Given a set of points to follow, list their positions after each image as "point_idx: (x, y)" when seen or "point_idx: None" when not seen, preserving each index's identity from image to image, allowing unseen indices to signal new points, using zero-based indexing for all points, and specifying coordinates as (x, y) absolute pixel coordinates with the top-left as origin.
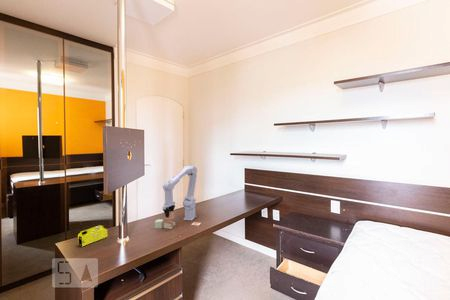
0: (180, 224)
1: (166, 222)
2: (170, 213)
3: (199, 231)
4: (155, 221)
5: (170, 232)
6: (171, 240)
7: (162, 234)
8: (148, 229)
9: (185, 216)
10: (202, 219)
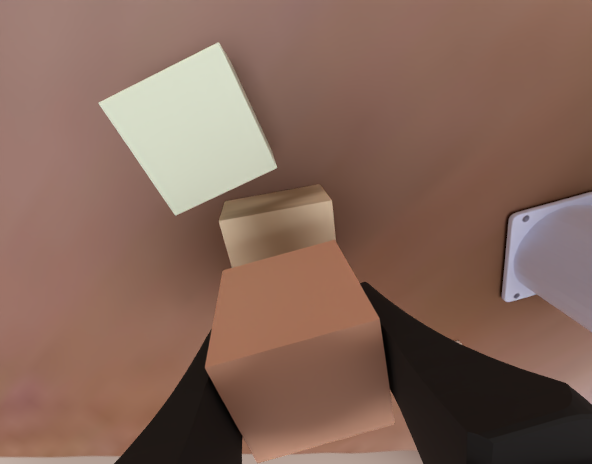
0: (382, 279)
1: (270, 222)
2: (256, 453)
3: (322, 452)
4: (117, 107)
5: (186, 335)
6: (94, 431)
7: (104, 314)
8: (46, 48)
9: (551, 245)
10: (541, 345)
